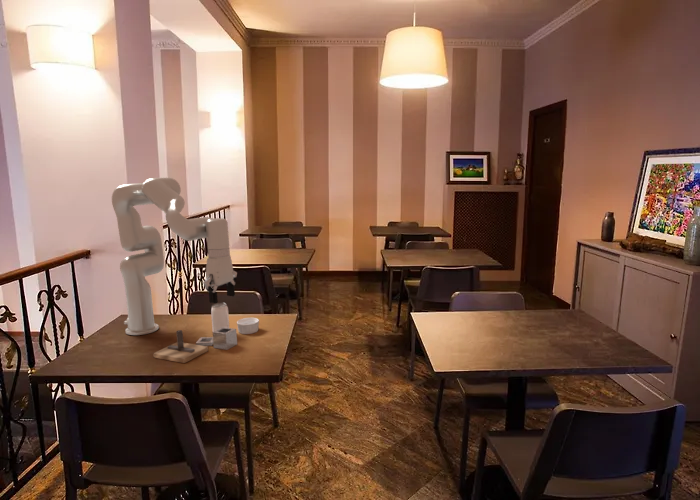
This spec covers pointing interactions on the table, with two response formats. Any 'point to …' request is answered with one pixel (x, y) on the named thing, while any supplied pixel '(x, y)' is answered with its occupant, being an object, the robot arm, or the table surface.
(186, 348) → the base
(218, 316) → the can
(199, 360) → the table surface
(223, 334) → the link
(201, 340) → the link
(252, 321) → the ramekin
